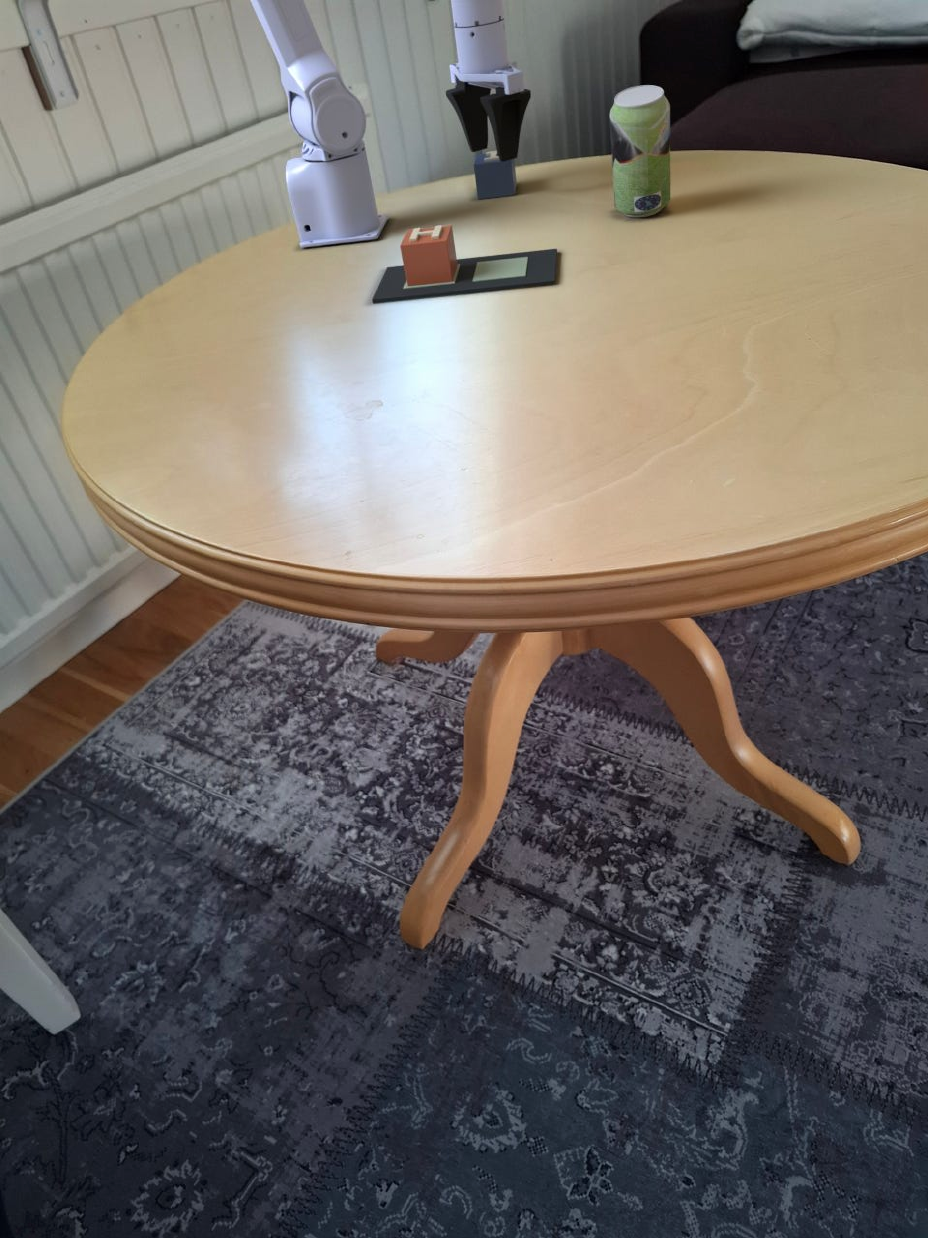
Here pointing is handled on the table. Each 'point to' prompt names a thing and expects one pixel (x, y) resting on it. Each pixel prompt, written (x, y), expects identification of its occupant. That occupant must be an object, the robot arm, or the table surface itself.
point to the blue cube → (494, 176)
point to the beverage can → (640, 150)
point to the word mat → (475, 276)
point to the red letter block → (429, 255)
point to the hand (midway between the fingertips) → (493, 154)
